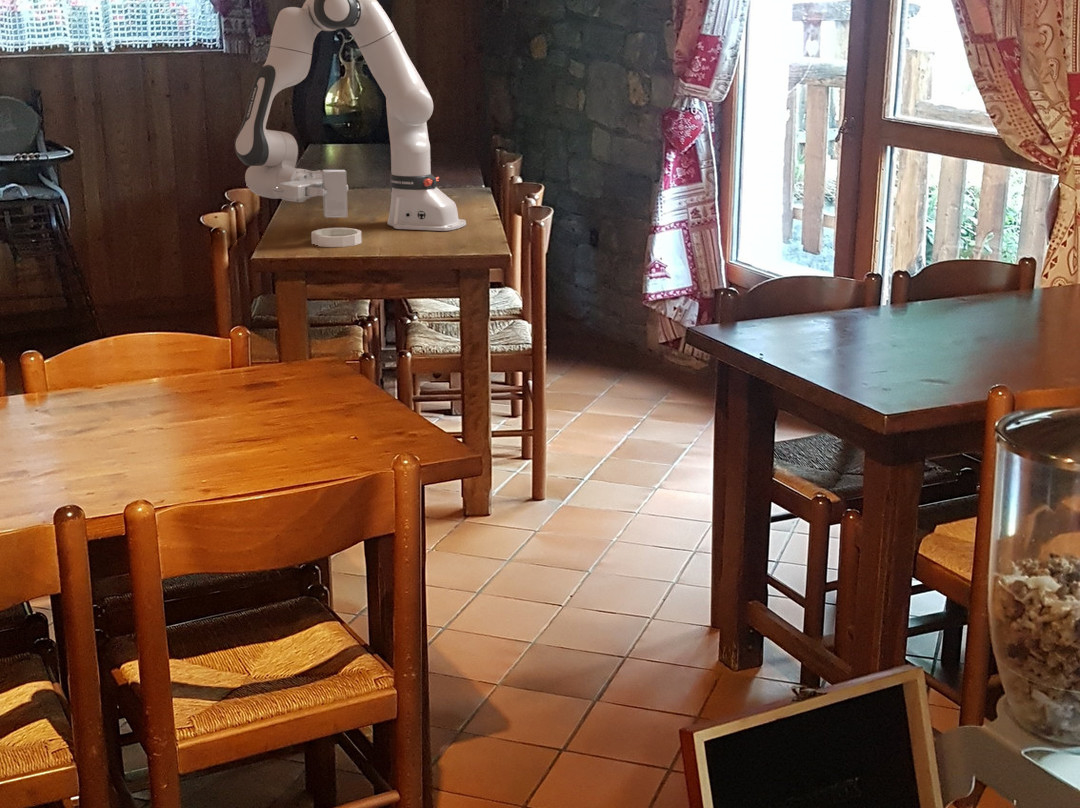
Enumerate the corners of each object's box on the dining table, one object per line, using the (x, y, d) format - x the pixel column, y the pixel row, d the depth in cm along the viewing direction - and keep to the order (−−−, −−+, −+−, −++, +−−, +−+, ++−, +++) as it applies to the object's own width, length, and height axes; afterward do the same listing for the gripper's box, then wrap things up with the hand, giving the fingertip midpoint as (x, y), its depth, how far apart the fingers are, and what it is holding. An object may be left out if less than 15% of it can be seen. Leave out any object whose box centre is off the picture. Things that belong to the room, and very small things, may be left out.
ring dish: (370, 239, 331) (370, 230, 330) (345, 248, 319) (345, 238, 318) (328, 235, 335) (328, 226, 334) (302, 244, 324) (301, 234, 323)
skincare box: (345, 215, 327) (345, 169, 324) (347, 217, 323) (347, 171, 320) (322, 215, 326) (321, 169, 322) (324, 218, 322) (323, 171, 318)
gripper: (268, 177, 320) (308, 182, 313) (321, 169, 336) (360, 173, 329) (269, 201, 322) (309, 207, 315) (322, 192, 338) (361, 197, 331)
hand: (336, 190), depth 322 cm, fingers closed on skincare box, 7 cm apart
